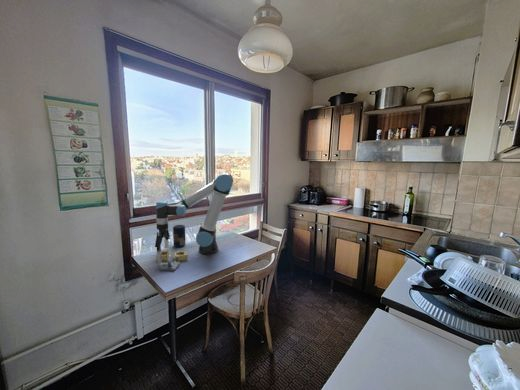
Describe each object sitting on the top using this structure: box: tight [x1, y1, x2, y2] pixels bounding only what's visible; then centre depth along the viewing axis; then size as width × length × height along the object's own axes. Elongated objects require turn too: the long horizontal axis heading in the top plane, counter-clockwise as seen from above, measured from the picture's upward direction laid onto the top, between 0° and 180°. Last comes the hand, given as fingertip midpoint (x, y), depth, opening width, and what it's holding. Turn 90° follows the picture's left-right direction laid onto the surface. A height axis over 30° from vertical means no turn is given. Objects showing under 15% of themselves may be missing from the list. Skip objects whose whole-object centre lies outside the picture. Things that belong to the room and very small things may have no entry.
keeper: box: [156, 249, 181, 272], centre depth 147 cm, size 12×10×12 cm
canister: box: [172, 224, 186, 248], centre depth 184 cm, size 10×10×18 cm
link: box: [155, 250, 173, 262], centre depth 160 cm, size 8×8×4 cm
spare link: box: [173, 250, 188, 262], centre depth 161 cm, size 8×8×4 cm
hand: (163, 251), depth 160 cm, fingers open, 13 cm apart
